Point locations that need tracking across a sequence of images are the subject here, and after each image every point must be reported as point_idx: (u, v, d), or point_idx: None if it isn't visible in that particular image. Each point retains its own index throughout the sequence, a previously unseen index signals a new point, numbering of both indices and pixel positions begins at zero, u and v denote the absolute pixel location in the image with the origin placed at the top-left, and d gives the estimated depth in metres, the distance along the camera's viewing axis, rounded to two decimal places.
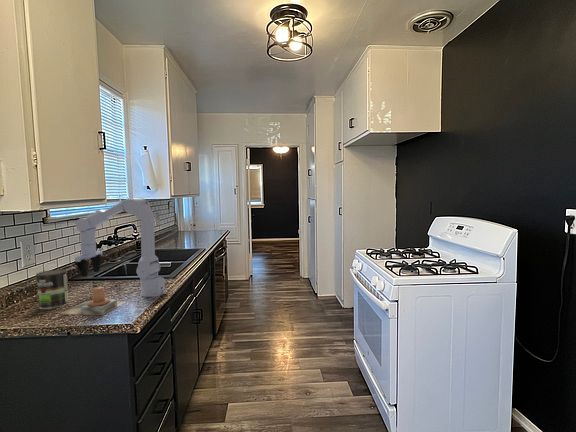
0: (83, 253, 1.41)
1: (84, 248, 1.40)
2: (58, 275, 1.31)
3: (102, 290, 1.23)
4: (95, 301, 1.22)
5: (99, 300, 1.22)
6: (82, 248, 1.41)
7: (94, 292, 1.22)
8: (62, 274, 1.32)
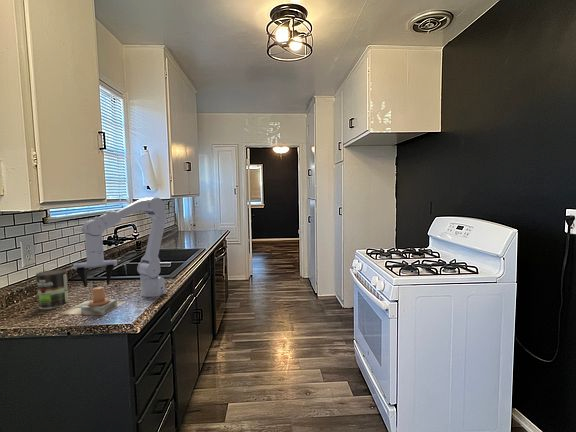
0: None
1: (86, 255, 1.23)
2: (58, 275, 1.31)
3: (102, 290, 1.23)
4: (95, 301, 1.22)
5: (99, 300, 1.22)
6: None
7: (94, 292, 1.22)
8: (62, 274, 1.32)
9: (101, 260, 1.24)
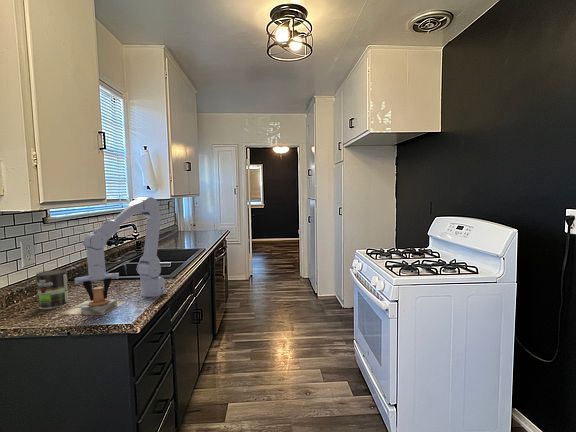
0: None
1: (88, 269, 1.21)
2: (58, 275, 1.31)
3: (102, 290, 1.23)
4: (95, 301, 1.22)
5: (99, 300, 1.22)
6: None
7: (94, 292, 1.22)
8: (62, 274, 1.32)
9: (103, 273, 1.23)
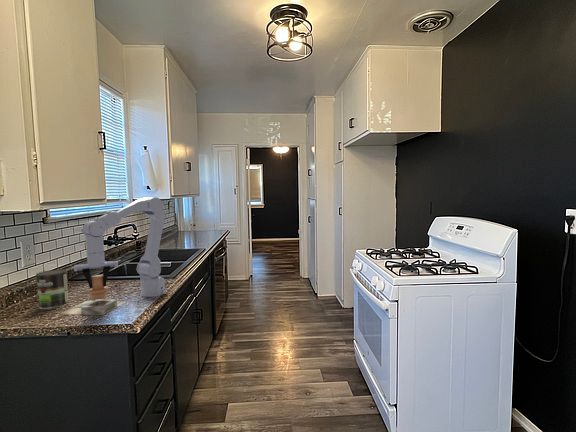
0: None
1: (87, 256, 1.21)
2: (58, 275, 1.31)
3: (101, 278, 1.23)
4: (94, 289, 1.22)
5: (98, 288, 1.22)
6: None
7: (93, 280, 1.21)
8: (62, 274, 1.32)
9: (102, 261, 1.22)
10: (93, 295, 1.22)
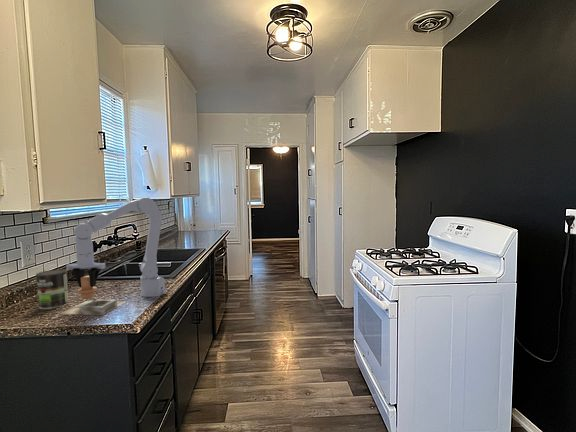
0: None
1: None
2: (58, 275, 1.31)
3: (88, 279, 1.28)
4: (82, 289, 1.27)
5: (85, 288, 1.27)
6: None
7: (81, 280, 1.27)
8: (62, 274, 1.32)
9: (89, 263, 1.27)
10: (81, 294, 1.28)
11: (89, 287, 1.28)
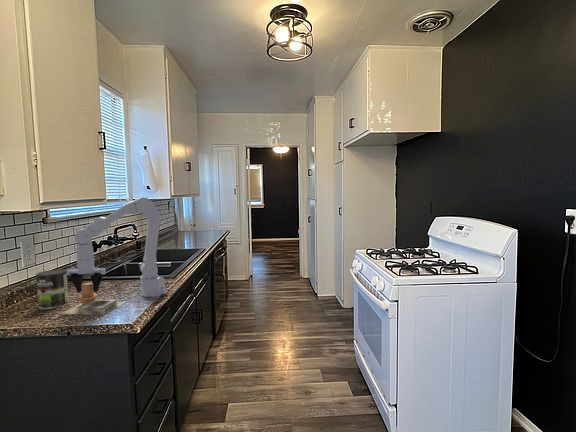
0: None
1: None
2: (58, 275, 1.31)
3: (89, 286, 1.28)
4: (83, 296, 1.28)
5: (86, 295, 1.28)
6: None
7: (82, 287, 1.28)
8: (62, 274, 1.32)
9: (89, 268, 1.27)
10: (82, 302, 1.28)
11: (90, 294, 1.28)
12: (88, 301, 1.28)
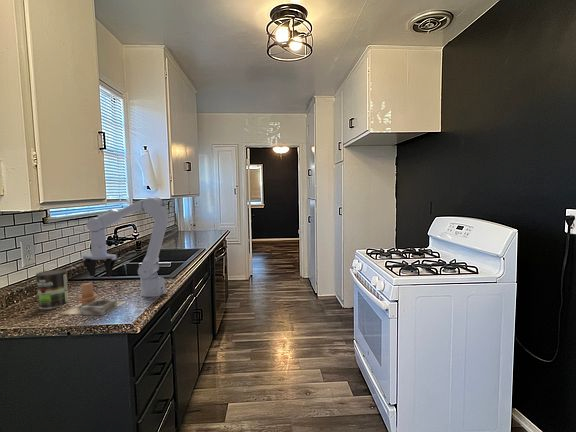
0: None
1: None
2: (58, 275, 1.31)
3: (89, 286, 1.28)
4: (83, 296, 1.28)
5: (86, 295, 1.28)
6: None
7: (82, 287, 1.28)
8: (62, 274, 1.32)
9: (101, 254, 1.37)
10: (82, 302, 1.28)
11: (90, 294, 1.28)
12: (88, 301, 1.28)
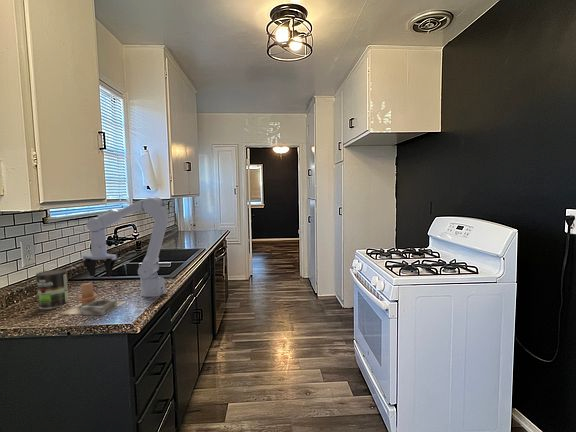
0: None
1: None
2: (58, 275, 1.31)
3: (89, 286, 1.28)
4: (83, 296, 1.28)
5: (86, 295, 1.28)
6: None
7: (82, 287, 1.28)
8: (62, 274, 1.32)
9: (101, 254, 1.37)
10: (82, 302, 1.28)
11: (90, 294, 1.28)
12: (88, 301, 1.28)
